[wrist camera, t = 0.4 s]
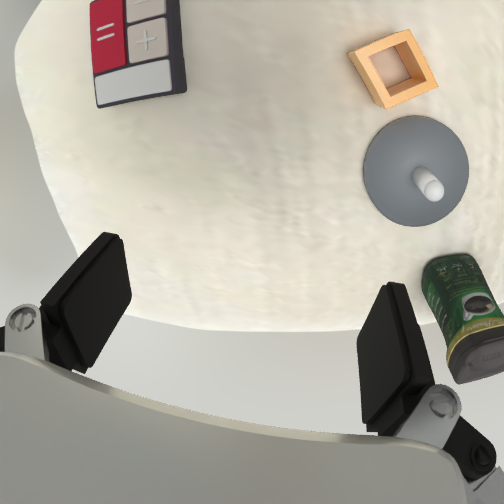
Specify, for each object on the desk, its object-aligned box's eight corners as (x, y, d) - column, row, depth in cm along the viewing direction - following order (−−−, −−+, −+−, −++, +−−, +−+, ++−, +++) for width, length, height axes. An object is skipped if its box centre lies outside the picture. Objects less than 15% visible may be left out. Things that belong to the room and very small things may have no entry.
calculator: (166, -27, 21) (174, 94, 29) (181, -18, 25) (188, 92, 33) (85, 1, 23) (93, 110, 31) (104, 5, 27) (111, 105, 35)
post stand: (442, 99, 28) (470, 109, 22) (474, 196, 33) (498, 222, 27) (343, 144, 33) (352, 163, 28) (387, 236, 39) (400, 269, 33)
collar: (395, 32, 25) (409, 28, 21) (421, 82, 27) (438, 86, 23) (347, 53, 27) (354, 51, 23) (375, 103, 30) (386, 109, 26)
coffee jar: (418, 297, 44) (446, 397, 29) (422, 256, 40) (464, 360, 25) (469, 289, 41) (508, 381, 26) (478, 248, 37) (531, 341, 22)
